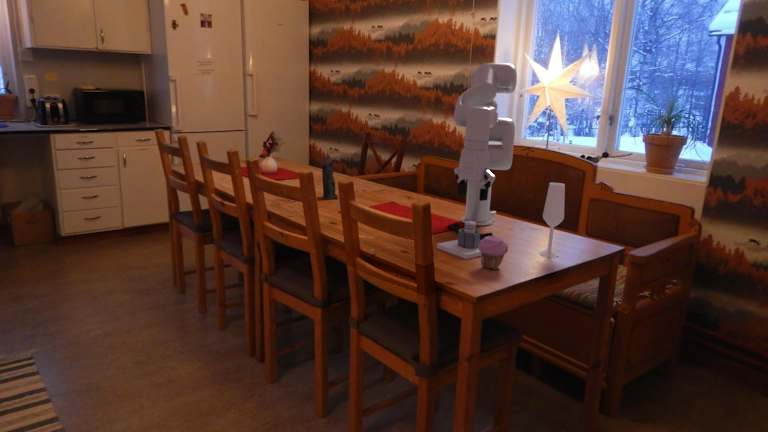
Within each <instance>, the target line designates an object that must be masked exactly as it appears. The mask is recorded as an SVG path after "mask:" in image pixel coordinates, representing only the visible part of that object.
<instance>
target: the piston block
mask: <svg viewBox="0 0 768 432" xmlns="http://www.w3.org/2000/svg"><path fill="white" fill-rule="evenodd" d="M476 226H477V225H476V223H475V222H472V221H466V222H465V223H464V232H465V233H475V229H476ZM436 248H437V250H441V251H443V252H446V253H448V254H451V255H454V256H457V257H460V258H463V259H465V260H470V259H473V258H477V257H482V255H481V252H480V251H479V249H478V248H475V249H468V248H462V247H459V246H458V239H454V240H447V241H444V242H439V243H436Z"/></svg>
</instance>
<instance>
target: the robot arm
mask: <svg viewBox="0 0 768 432" xmlns="http://www.w3.org/2000/svg"><path fill="white" fill-rule="evenodd" d="M517 76H518V74H517V69H516V67H515V66H514V65H513V64H511V63H505V62H504V63H502V62H501V63H500V62H497V63H496V62H488V63H487V62H486V63H482V64H480V65H479V66H478V67H477V68H476V70H474V71H473V72H472V73H471V74H470V79H469V81H470V87H469V88H468V89H467V90H465V91H464V92H462V93H461V94H460V95H459V96H458V99H457V100H456V104H455V108H454V113H453V120H454V124H455V125H456V126H457V127H460V128H465V135H464V140H463V142H462V143H463V145H464V148H462V150H461V153H460V156H459V163H458V166H456V167H455V168H454V169H453V171H454V174H455V178H456V180H457V181H456V183H457V184H458V188H457V195H458V196H462V195H466V201H465V203H466V204H465V215H464V216H462V217H461V218H460V221H461V222H462V223H464V224H465V222H466V221H472V222H475V223H476V226H481V227H482V226H490V225H492V224H493V218H491V217H493V216H494V217H495V216H496V215H497V211H496V210H493V211H491V210H490V209H491V208H490V207H491V199H492V198H491V196H492V195H491V194H492V186H493V184H494V181H495V179H496V178H497V177H496V176H495V174H493V173H492V172H491V171H490V170H494V171H495V170H498V171H508V170H510V169H511V167H512V164H513V157H514V146H515V135H516V134H515V132H516V130H515V129H516V127H515V122H514V120H513V119H512V118H508V117H499V114H498V102H497V101H496V99H495V98H496V97H497V94H512V93H513V92H515V89H516V87H517V82H518V81H517V78H518V77H517ZM489 142H492V143H493V142H494V143H501V145H498V144H497V145H496V144H489ZM466 181H467V182H466Z"/></svg>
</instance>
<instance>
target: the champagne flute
mask: <svg viewBox="0 0 768 432" xmlns="http://www.w3.org/2000/svg"><path fill="white" fill-rule="evenodd" d="M565 186H566V185H565V183H560V182H549V185H548V189H547V193H546V194H547V195H546V199H545V204H544V209H543V213H542V218H543V221H545V223H546V224H547V226H549V227H550V229H549V235H548V236H549V237H548V245H547V249H544V250H541V251H540V252H538V254H539V256H541V255H542V256H541V257H544V256H545V257H544V258H550V257H555V258H557V257H556V256H558V255H559V254H558V253H557V252H556V251H554V250H553V249H552V247H553V240H554V239H553V238H554V231H555V229H554V228H555V227H557V226H558V225H560V224H561V223H562V222H563V220H564V219H565V195H566V194H565V193H566V191H565V190H566V187H565Z"/></svg>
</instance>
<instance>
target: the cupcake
mask: <svg viewBox="0 0 768 432" xmlns="http://www.w3.org/2000/svg"><path fill="white" fill-rule="evenodd" d="M478 249H479V251H480V252H481V255H482V256H480V258H481V259H480V263H481V264H480V265H481V267H482V268H484V269H489V270H493V271H497V270H498V268H499V267H500V266H501V264H502V262H503V260H504V256H505V255H506V254H507V253H508V251H509V246H508V243H507V241H506V240H505V239H504V238H502V237H500V236H497V235H493V236H487V237H485V238H484V239H482V240H481V241H480V242H479V245H478Z"/></svg>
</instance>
